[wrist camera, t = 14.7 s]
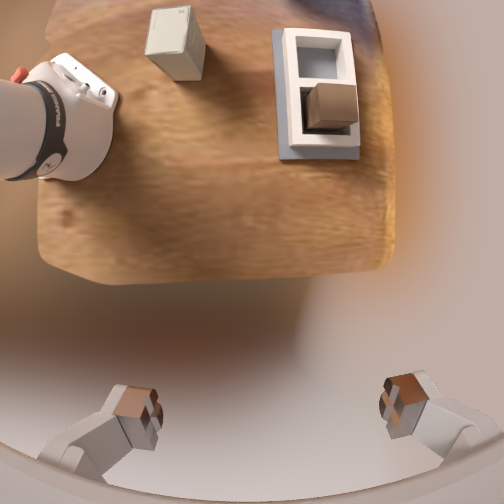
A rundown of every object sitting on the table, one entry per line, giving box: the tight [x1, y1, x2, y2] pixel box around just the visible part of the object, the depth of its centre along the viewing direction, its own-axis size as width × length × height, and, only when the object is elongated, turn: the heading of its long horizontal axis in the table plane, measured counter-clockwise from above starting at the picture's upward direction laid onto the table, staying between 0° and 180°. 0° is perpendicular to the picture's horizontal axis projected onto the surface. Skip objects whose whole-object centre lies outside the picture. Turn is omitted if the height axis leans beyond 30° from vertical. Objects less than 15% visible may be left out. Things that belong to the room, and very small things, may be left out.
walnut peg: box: [303, 83, 359, 131], centre depth 31 cm, size 4×4×10 cm
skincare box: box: [145, 6, 206, 81], centre depth 29 cm, size 6×4×12 cm
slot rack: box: [271, 28, 360, 160], centre depth 34 cm, size 19×11×5 cm, turn 3°
